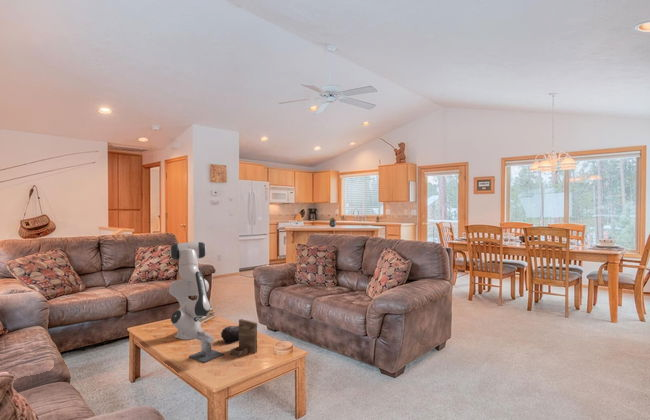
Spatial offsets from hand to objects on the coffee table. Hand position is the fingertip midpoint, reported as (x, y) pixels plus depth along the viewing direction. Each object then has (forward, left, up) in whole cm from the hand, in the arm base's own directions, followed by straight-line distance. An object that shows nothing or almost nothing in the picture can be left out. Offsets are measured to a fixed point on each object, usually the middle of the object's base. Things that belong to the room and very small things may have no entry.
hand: (207, 342), depth 219 cm
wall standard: (+1, +20, -8) cm, 22 cm away
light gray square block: (0, -1, -7) cm, 7 cm away
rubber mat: (0, 0, -8) cm, 8 cm away
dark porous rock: (-23, +16, -8) cm, 29 cm away
